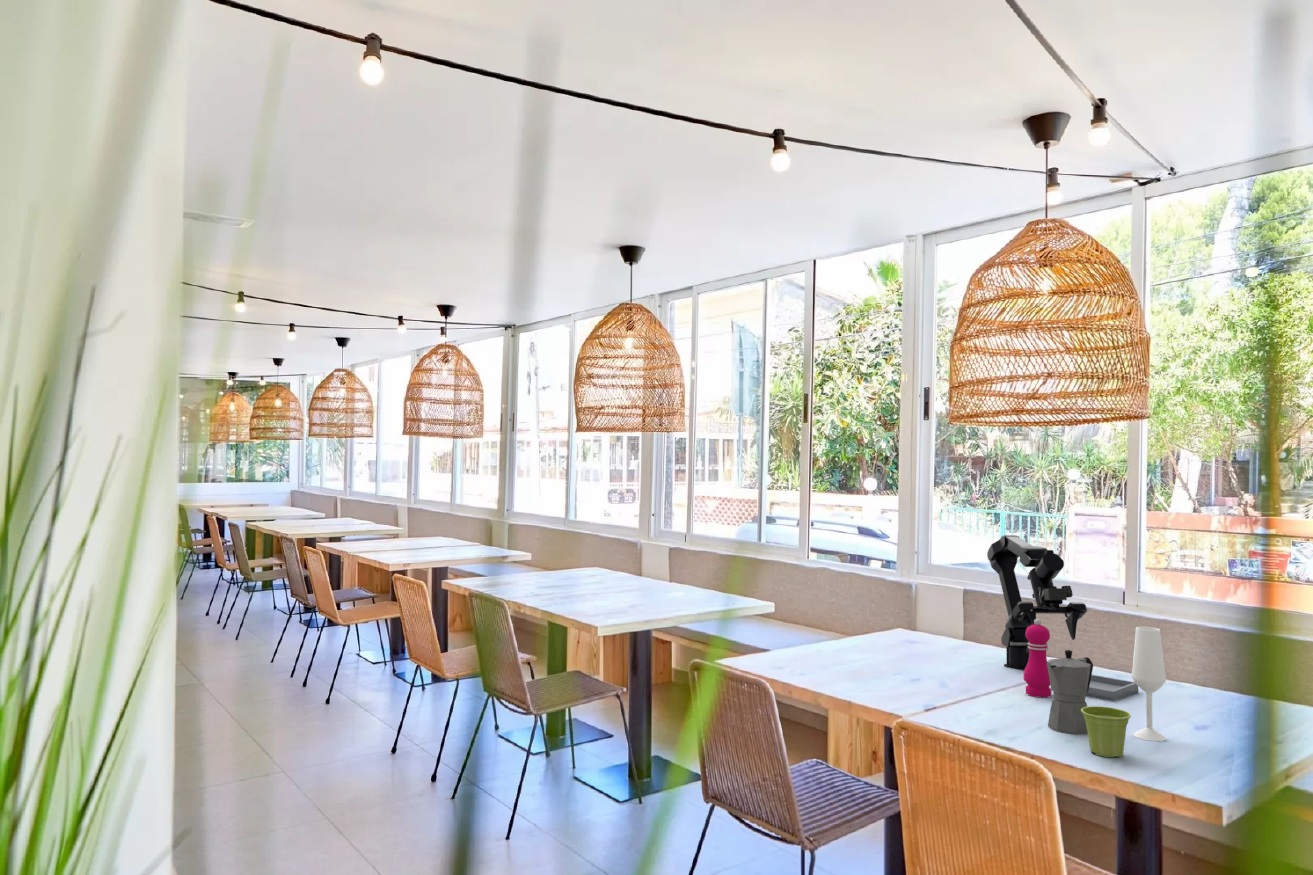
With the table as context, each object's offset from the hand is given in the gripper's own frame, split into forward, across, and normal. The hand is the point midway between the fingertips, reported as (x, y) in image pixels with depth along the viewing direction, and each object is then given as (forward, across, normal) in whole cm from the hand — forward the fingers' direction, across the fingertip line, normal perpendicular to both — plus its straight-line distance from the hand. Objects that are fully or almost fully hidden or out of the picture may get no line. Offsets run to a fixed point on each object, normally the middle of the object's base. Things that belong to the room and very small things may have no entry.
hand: (1057, 639), depth 240 cm
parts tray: (+12, +9, +5) cm, 16 cm away
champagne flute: (+35, +1, -29) cm, 46 cm away
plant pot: (+42, -14, -39) cm, 59 cm away
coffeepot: (+32, -13, -24) cm, 42 cm away
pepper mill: (+15, -8, +2) cm, 17 cm away
